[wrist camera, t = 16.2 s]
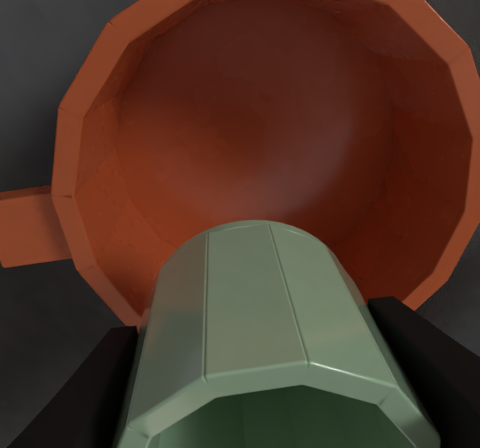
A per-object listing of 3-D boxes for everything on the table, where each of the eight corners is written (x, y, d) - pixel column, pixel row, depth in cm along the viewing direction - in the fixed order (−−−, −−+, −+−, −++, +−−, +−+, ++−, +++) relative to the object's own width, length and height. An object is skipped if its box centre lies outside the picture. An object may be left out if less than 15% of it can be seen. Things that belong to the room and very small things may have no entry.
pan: (452, 250, 22) (539, 331, 16) (92, 302, 22) (48, 402, 16) (481, -57, 16) (634, -106, 10) (-7, 15, 16) (-133, 8, 10)
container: (233, 412, 13) (244, 614, 9) (105, 300, 11) (31, 487, 7) (386, 319, 12) (492, 498, 7) (273, 175, 10) (324, 298, 5)
